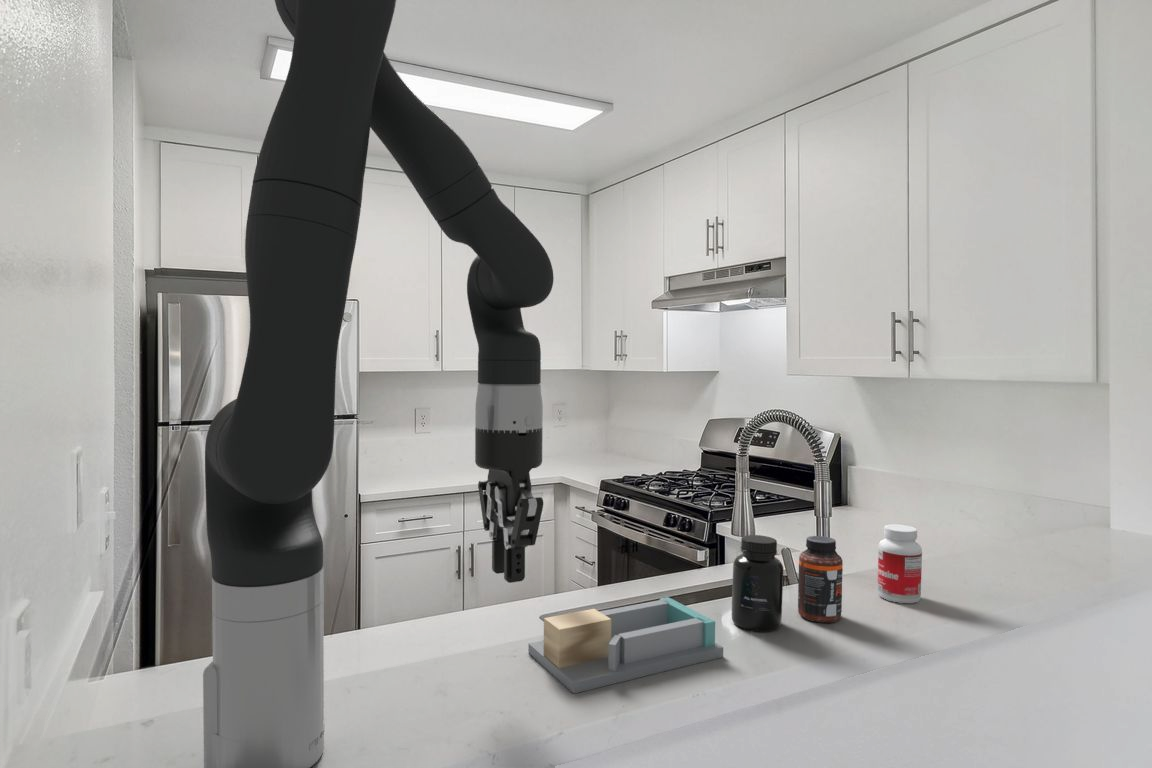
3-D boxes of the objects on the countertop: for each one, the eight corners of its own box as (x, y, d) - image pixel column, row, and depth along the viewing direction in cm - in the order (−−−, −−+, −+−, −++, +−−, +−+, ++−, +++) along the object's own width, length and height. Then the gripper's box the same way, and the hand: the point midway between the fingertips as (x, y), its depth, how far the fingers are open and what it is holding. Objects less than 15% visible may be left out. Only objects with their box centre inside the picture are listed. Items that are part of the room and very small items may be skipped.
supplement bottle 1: (747, 635, 94) (748, 546, 93) (722, 617, 100) (724, 534, 100) (792, 630, 96) (793, 543, 95) (765, 613, 102) (766, 531, 102)
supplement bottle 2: (844, 626, 97) (846, 545, 97) (800, 622, 98) (801, 542, 98) (837, 611, 103) (839, 535, 103) (795, 608, 104) (797, 532, 104)
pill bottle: (869, 592, 112) (870, 523, 111) (903, 590, 113) (905, 522, 112) (893, 605, 106) (895, 533, 105) (929, 603, 107) (931, 531, 106)
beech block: (559, 668, 80) (559, 629, 80) (543, 655, 84) (543, 618, 84) (610, 656, 84) (611, 619, 84) (593, 644, 87) (594, 608, 87)
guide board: (573, 693, 77) (573, 655, 77) (528, 652, 87) (528, 619, 87) (723, 656, 87) (723, 623, 87) (666, 624, 97) (666, 594, 97)
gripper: (456, 420, 83) (456, 564, 84) (501, 431, 71) (500, 600, 71) (515, 418, 87) (514, 556, 87) (567, 428, 74) (566, 589, 75)
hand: (508, 575), depth 79 cm, fingers open, 3 cm apart
